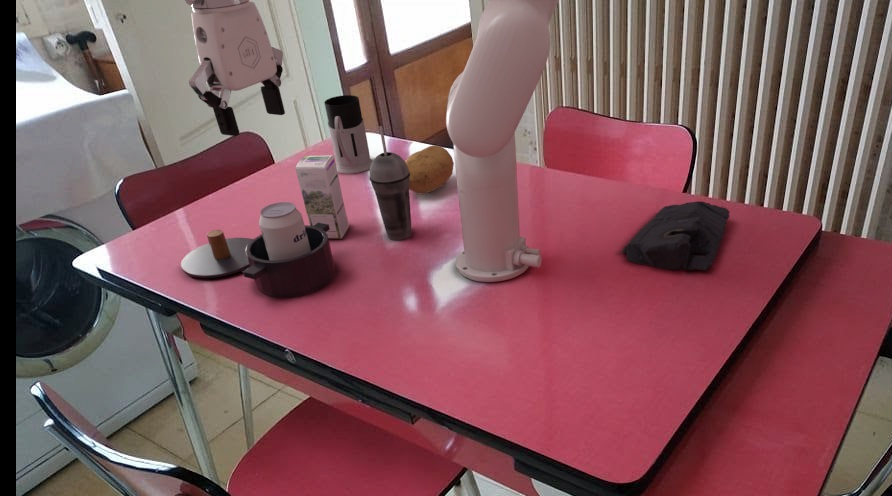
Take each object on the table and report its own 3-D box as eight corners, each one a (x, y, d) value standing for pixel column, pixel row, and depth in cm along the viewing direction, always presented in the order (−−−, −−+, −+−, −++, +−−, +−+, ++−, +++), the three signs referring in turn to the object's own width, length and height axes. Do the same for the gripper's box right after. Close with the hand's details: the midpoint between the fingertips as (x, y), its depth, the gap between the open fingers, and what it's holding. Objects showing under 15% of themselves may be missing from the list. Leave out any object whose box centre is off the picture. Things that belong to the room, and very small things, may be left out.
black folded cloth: (742, 222, 124) (746, 197, 121) (705, 278, 109) (709, 251, 106) (660, 209, 130) (662, 185, 128) (615, 260, 116) (616, 234, 113)
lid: (281, 249, 127) (273, 222, 124) (224, 287, 117) (213, 258, 114) (224, 237, 133) (215, 211, 130) (165, 272, 123) (154, 244, 120)
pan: (360, 259, 122) (353, 225, 118) (289, 312, 109) (279, 276, 105) (302, 247, 128) (293, 214, 124) (228, 297, 115) (216, 261, 111)
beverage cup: (382, 246, 126) (362, 138, 114) (377, 230, 131) (358, 125, 119) (422, 239, 127) (406, 131, 115) (415, 223, 133) (399, 118, 121)
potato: (390, 199, 143) (384, 162, 138) (427, 175, 152) (423, 139, 148) (429, 206, 139) (424, 168, 134) (465, 180, 148) (461, 144, 143)
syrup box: (350, 226, 134) (334, 153, 125) (341, 240, 129) (325, 165, 120) (321, 226, 134) (304, 154, 126) (312, 240, 130) (293, 166, 121)
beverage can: (308, 284, 115) (290, 218, 108) (269, 284, 116) (249, 218, 109) (321, 264, 120) (305, 200, 113) (283, 264, 121) (265, 200, 114)
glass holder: (375, 158, 163) (364, 93, 154) (367, 181, 152) (354, 112, 143) (338, 160, 163) (325, 95, 154) (328, 184, 152) (312, 115, 143)
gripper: (189, 9, 85) (230, 146, 95) (283, -15, 97) (311, 108, 107) (148, 8, 88) (192, 141, 98) (244, -16, 100) (274, 105, 110)
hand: (254, 124), depth 103 cm, fingers open, 9 cm apart
